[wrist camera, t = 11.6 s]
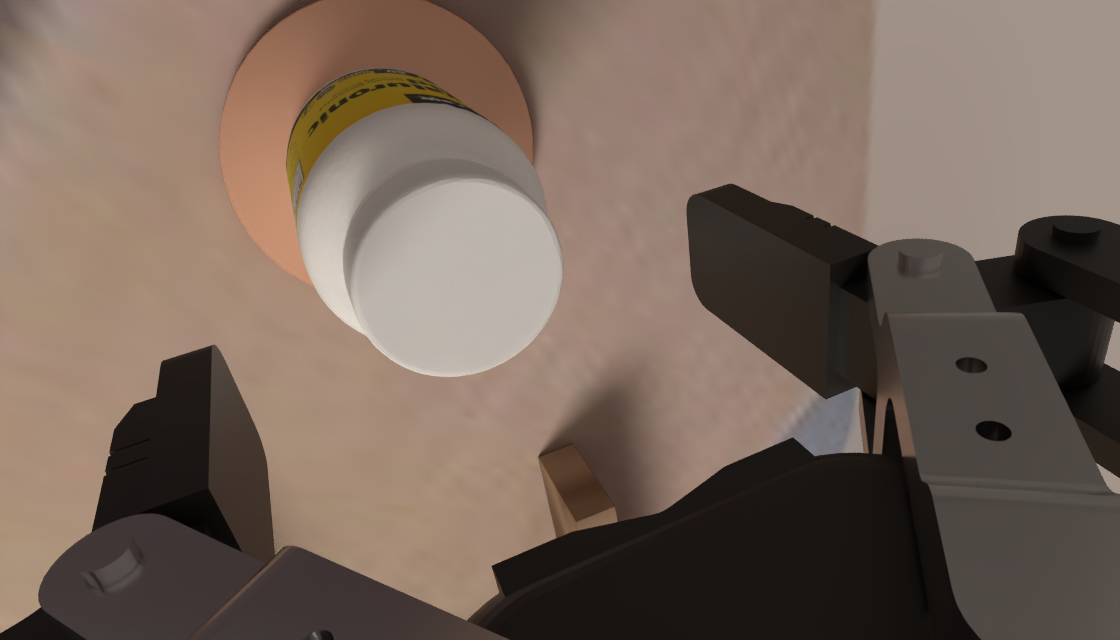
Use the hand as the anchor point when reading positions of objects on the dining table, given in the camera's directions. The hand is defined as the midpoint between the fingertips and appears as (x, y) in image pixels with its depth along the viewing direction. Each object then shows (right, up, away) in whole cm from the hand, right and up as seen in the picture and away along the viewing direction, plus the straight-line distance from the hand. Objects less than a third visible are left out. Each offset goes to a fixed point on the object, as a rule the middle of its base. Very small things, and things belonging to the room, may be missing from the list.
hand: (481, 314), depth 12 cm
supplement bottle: (-4, +5, +10) cm, 11 cm away
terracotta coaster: (-4, +5, +10) cm, 12 cm away
